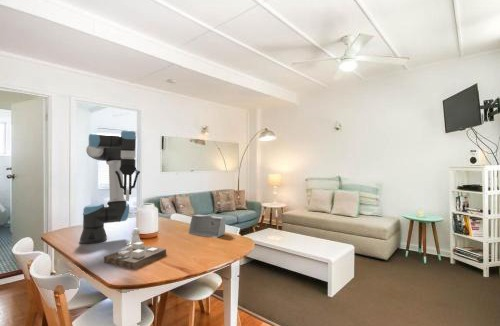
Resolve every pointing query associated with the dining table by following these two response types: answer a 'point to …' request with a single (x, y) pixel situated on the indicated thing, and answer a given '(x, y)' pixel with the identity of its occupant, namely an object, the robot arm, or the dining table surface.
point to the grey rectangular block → (207, 226)
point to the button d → (152, 250)
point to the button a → (123, 252)
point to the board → (134, 262)
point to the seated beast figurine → (134, 237)
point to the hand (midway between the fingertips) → (127, 200)
